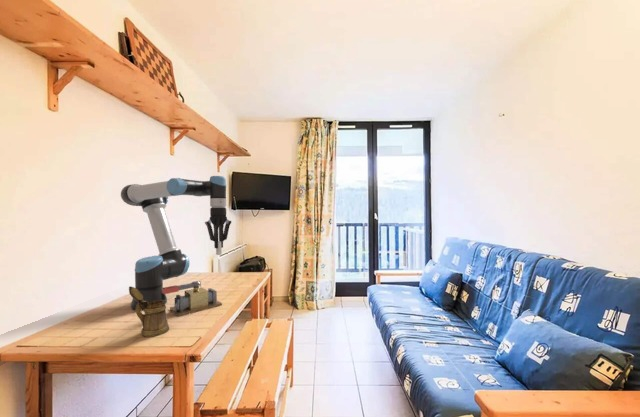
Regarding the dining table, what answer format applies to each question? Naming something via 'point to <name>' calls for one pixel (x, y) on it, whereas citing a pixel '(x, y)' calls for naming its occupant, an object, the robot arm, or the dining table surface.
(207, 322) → the dining table surface
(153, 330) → the wooden mug
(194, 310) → the valve body
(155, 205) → the robot arm
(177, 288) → the lever
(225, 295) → the dining table surface
